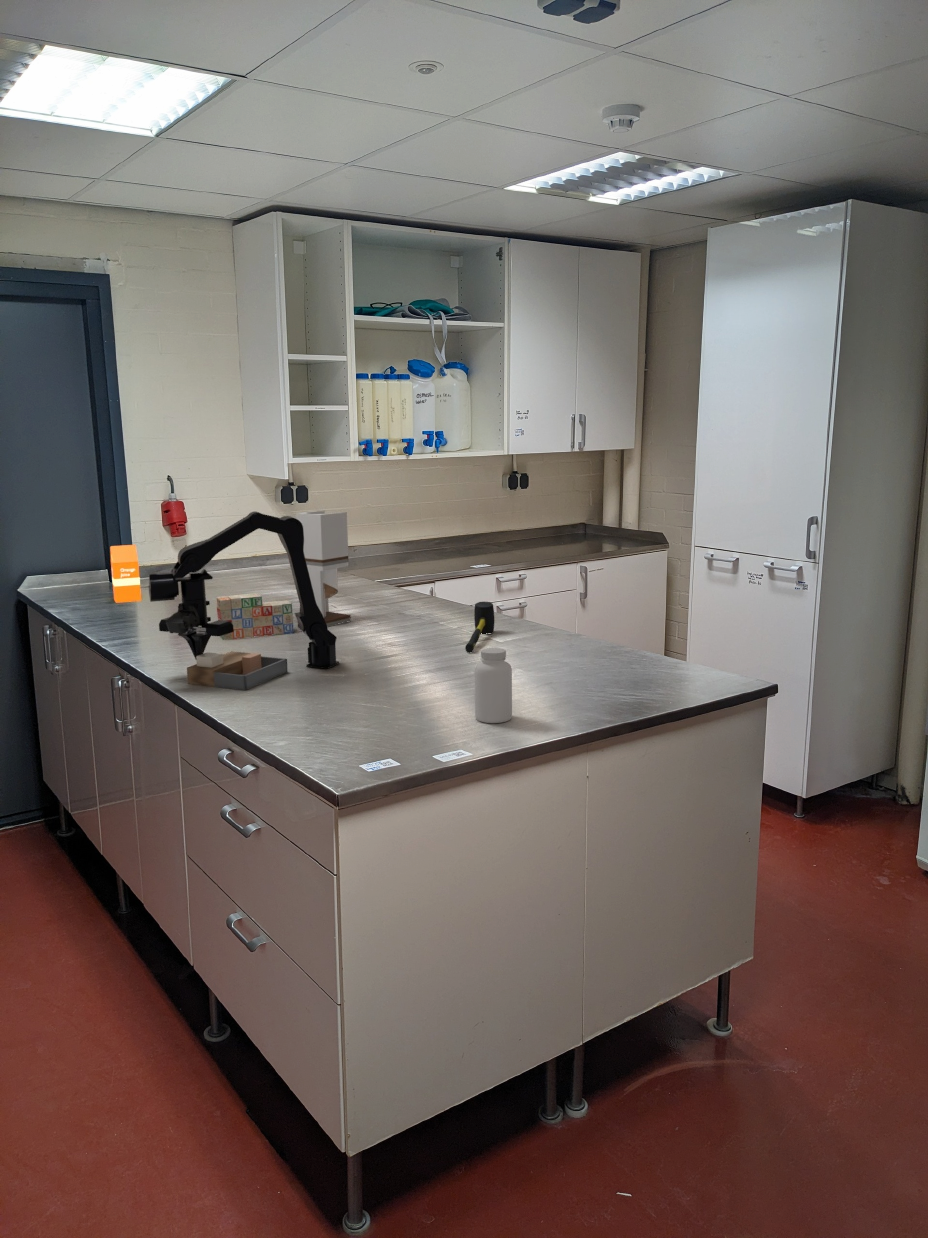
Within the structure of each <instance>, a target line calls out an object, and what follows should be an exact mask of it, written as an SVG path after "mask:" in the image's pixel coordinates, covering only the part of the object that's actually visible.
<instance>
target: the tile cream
mask: <svg viewBox="0 0 928 1238" xmlns="http://www.w3.org/2000/svg"><path fill="white" fill-rule="evenodd" d="M195 662H196V664H197V666H202V667H211V668H212V667H215V666H217V665H220V664H223V653H222V652H213V651H212V652H210V651H206V652H204V653H203V654H201V655H198V656H196V659H195Z"/></svg>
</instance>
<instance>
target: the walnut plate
mask: <svg viewBox="0 0 928 1238" xmlns="http://www.w3.org/2000/svg"><path fill="white" fill-rule="evenodd" d="M251 653H252V652H241V651H233V650H231V651H229V652H227V653H224V654H223V653H222V654H223V664H220V665H217V666H215V667H212V668H211V667H202V666H197V663H196V664H193V665H190V666H187V667H186V676H187V684H191V685H197V686H207V687H214V688H215V685H214V672H219V673H228V674H237V675H240V674H242V673H243V667H242V657H243V656H246V655H249V654H251Z"/></svg>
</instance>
